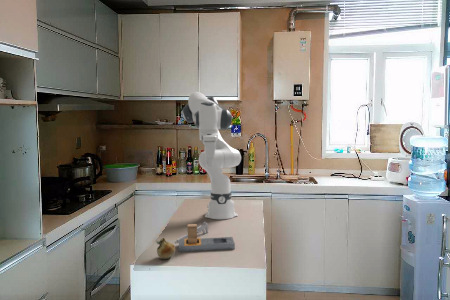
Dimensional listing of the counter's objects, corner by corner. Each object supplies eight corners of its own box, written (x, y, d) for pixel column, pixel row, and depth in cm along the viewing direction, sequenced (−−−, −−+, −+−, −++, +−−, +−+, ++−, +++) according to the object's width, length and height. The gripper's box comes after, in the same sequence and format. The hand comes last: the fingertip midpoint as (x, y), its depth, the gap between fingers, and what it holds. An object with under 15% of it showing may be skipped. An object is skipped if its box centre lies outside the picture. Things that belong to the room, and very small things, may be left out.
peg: (188, 246, 168) (187, 224, 167) (197, 246, 168) (196, 224, 167) (188, 249, 164) (187, 227, 163) (197, 249, 164) (196, 226, 163)
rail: (179, 245, 170) (179, 238, 170) (232, 242, 172) (232, 236, 172) (178, 251, 161) (178, 245, 161) (234, 249, 163) (234, 242, 163)
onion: (156, 262, 149) (155, 242, 149) (156, 255, 157) (156, 236, 157) (175, 261, 151) (175, 241, 150) (175, 254, 159) (174, 235, 158)
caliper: (206, 233, 188) (206, 220, 188) (208, 233, 187) (207, 221, 187) (174, 243, 173) (174, 229, 173) (176, 243, 173) (175, 230, 172)
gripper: (201, 135, 189) (202, 163, 190) (202, 137, 169) (203, 168, 170) (213, 135, 189) (214, 163, 191) (216, 137, 169) (217, 168, 170)
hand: (209, 165), depth 180 cm, fingers open, 8 cm apart
